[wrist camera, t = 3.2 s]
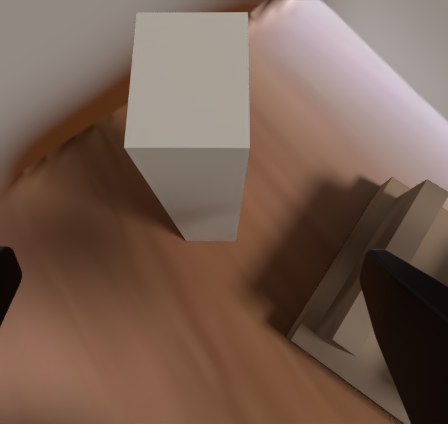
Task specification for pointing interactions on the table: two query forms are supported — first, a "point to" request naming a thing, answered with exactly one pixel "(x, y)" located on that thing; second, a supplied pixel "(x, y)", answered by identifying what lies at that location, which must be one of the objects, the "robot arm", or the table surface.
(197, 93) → the beige rectangular block
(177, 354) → the table surface
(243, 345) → the table surface
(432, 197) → the beige rail channel
